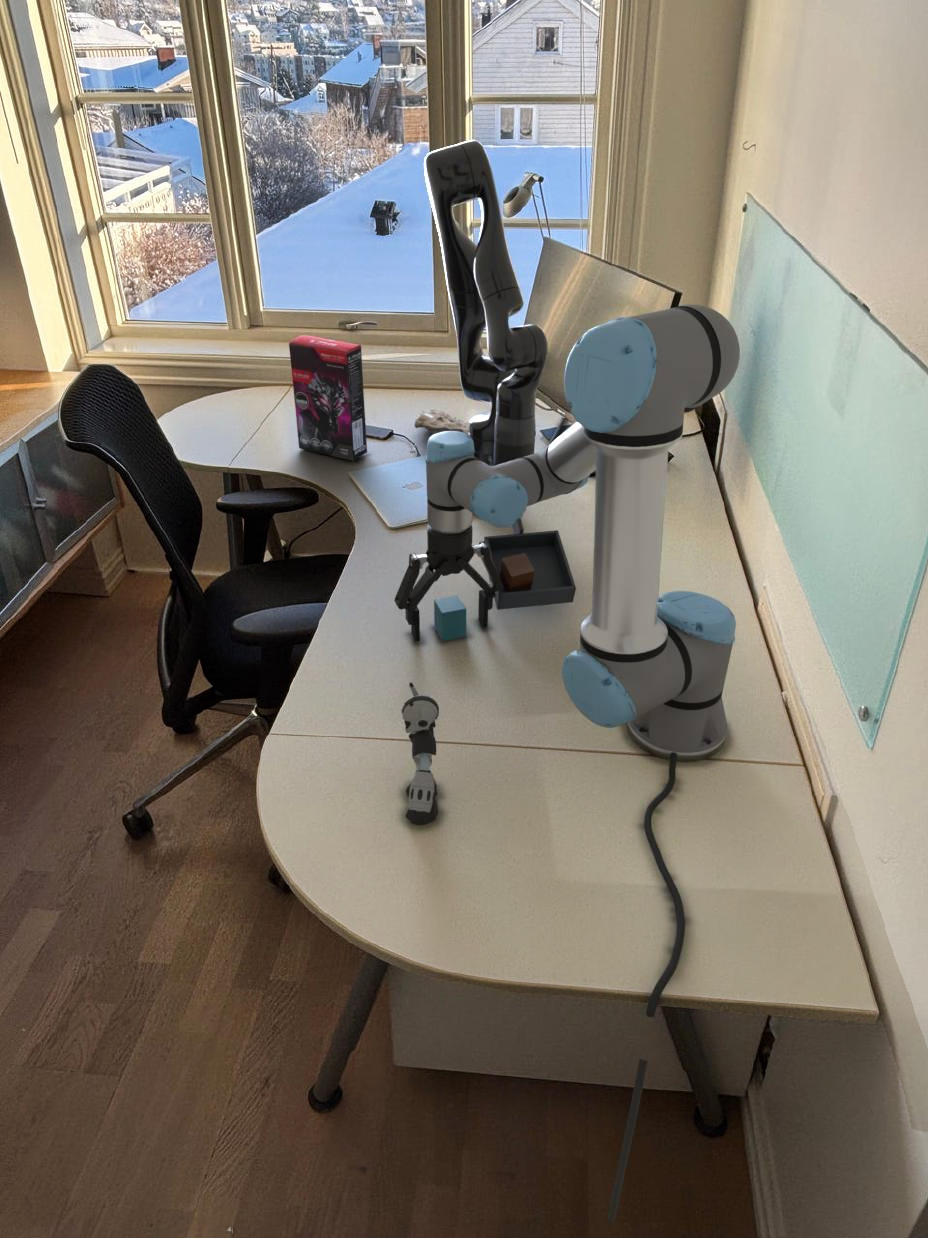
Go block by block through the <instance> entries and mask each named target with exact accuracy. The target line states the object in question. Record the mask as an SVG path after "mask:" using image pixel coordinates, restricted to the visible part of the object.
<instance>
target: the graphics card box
mask: <svg viewBox="0 0 928 1238" xmlns="http://www.w3.org/2000/svg"><path fill="white" fill-rule="evenodd" d="M288 348H289V349H288V350H289V358H290V367H291V377H292V389H293V399H294V409H295V418H296V419H295V420H296V428H297V429H296V431H297V437H298V438H297V441H298V448H299V449H301V450H305V451H309V452H313V453H318V454H323V455H327V456H331V457H335V458H339V459H344V460H347V461H351V462H354V461H356V460H358V459H359V458H360V457H362V456H364V455H365V454H367V453H368V445H367V444H368V443H367V426H366V410H365V393H364V377H363V376H364V375H363V356H362V345H361V343H360V344H359V343H351V342H346V341H341V340H335V339H334V340H333V339H329V338H325V337H324V338H323V337H318V336H313V335H308V334H301V335H299V336H297V337H295V338H293V339H292V340H291V341H289V342H288Z"/></svg>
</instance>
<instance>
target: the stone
mask: <svg viewBox="0 0 928 1238" xmlns="http://www.w3.org/2000/svg"><path fill="white" fill-rule="evenodd" d="M414 420H415V422H414V424H413V425H414V428H416V429H419V428H420V429H421V428H422V429H423V428H424V429H425V430H426V431H427V432H428V433H430V434H432V435H434V434H437V433H440V432H444V431H458V432H463V433H466V434H468V435H469V421H464V420H460V419H458V418H457V417H452V416H451V415H450V414H449V413H446V412H445V411H442V410H437V409H429V410H422V411H421V412H420V413H419V415H416V417H415V418H414Z"/></svg>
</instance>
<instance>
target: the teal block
mask: <svg viewBox="0 0 928 1238" xmlns="http://www.w3.org/2000/svg"><path fill="white" fill-rule="evenodd" d="M433 601H434V602H433V619H434V621H433V622H434V623H433V624H434V625H433V626H434V630H435V631H436V633H437V635H438V636H439V638H440V640H441V641H442V642H445V641H451V640H456V639H461V638H466V637H467V607H466V606H465V604H464V603H463V601H462V599H461V598H460V596H459V595H454V596H448V597H443V598H438V599H434V600H433Z"/></svg>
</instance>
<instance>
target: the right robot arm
mask: <svg viewBox="0 0 928 1238" xmlns="http://www.w3.org/2000/svg"><path fill="white" fill-rule="evenodd" d="M740 359H741V348H740V343H739V338H738V335H737V332H736V330H735V328H734V326H733V325H732V324H731V322H730V321H729V320H728V319H727V318H726V317H725V316H724V315H723V314H722V313H721V312H718V311H717V310H715V309H714V308H712V307H708V306H705V305H700V304H682V305H677V306H672V307H671V308H665V309H661V310H655V311H652V312H646V313H643V314H642V313H641V314H637V315H630V316H627V317H624V316H619V317H617V318H614V319H612V320H609V321H607V322H606V323H602V324H599V325H595V326H594V327H591V328H590V329H588V330H586V331H585V332H584V333H583V334H582V335H581V337H580V338H578V340H577V341H576V342H575V343H574V345H573V347H572V348H571V350H570V352H569V354H568V357H567V360H566V364H565V367H564V368H565V369H564V374H563V375H564V376H563V377H564V379H563V387H564V396H565V400H566V403H567V404H568V405H570V406H571V405H572V408H571V411H570V413H571V415H572V417H573V418H574V419H575V422H574V423H573V424H572V425H570V426H569V427H568V428H567V429H566V430H565V431H563V432H562V433H561V434H560V435H558V436H557V437H556V439H555V440H554V441H553V442H552V443H550V444H549V443H548V444H549V445H548V444H547V445H548V446H547V445H546V446H547V447H546V446H545V447H544V448H543V449H541V450H540V451H538V452H534V454H532V455H528V456H525V457H522V458H519V459H516V460H512V461H509V462H505V463H502V464H499V465H496V466H489V465H487V464H486V463H484V462H482V461H480V460H479V459H477V458H475V457H474V452H475V449H474V442H473V440H472V438H471V437H470V436H469V435H468V434H466V433H463V432H458V431H444V432H440V433H437V434H432V435H431V436H430V437H429V438H428V440H427V442H426V458H425V460H424V461H425V471H426V472H425V473H426V474H425V476H426V498H427V499H426V513H427V515H426V516H427V517H426V519H427V521H426V522H427V527H426V528H427V531H426V532H427V535H426V536H427V537H426V539H427V548H426V549H427V550H426V552H425V554H416V553H415V552H411V553H409V555H408V565H407V567H406V570H405V573H404V575H403V578H402V581H401V582H400V585H399V587H398V589H397V591H396V594H395V597H394V603H395V604H396V607H397V609H399V610H400V611H402V610H405V620H406V622H407V624H408V625H409V626H410V632H411V636H412V638H413V640H414V641H415V642H417V643H418V642H421V628H420V627H421V624H420V623H421V622H420V621H421V620H420V609H419V607H418V605H419V604H420V602H421V601H422V600H423V599H424V598H425V595H426V594H428V591H429V590H430V589H431V587H432V586H433V584H434V583H435V582H438V580H439V579H440V578H441V576H442V577H447V576H450V575H459V574H461V572H463V571H464V572H465V573H466V574H467V575H468V576H469V577H470V578H471V579H472V580H473V581H474V582H475V583H476V584H477V585H478V586H479V587H480V588H481V589H479V590H478V611H477V613H478V616H477V618H478V619H477V622H479V624H480V626H481V627H482V629H488V625H489V624H488V623H489V621H488V619H489V611H490V610H492V609H493V607H494V597H495V596H496V594H495V592H496V591H502V590H503V589H504V586H503V584H502V582H501V580H500V578H499V576H498V574H497V572H496V569H495V567H494V565H493V563H492V561H491V559H490V549H489V547H488V546H487V545H486V543H485V542H484V540H481V541H479V542H478V544H476V545H473V521H474V516H476V518H478V519H479V520H481V521H483V522H485V523H488V524H490V525H492V526H493V527H495V528H500V529H501V528H502V529H505V528H508V527H512V525H513V524H515V521H516V520H518V519H520V518H521V519H522V517H523V516H524V514H525V512H526V510H527V507H530V506H532V505H535V504H537V503H540V502H544V501H546V500H549V499H554V498H556V497H559V496H562V495H568V494H571V493H573V492H575V491H577V490H579V489H581V488H583V487H584V486H585V485H586V484H587V483H589V482H588V481H589V478H590V476H591V474H592V473H594V472H595V487H594V489H595V491H594V496H595V497H594V523H593V524H594V525H593V527H594V530H593V566H592V567H593V568H592V571H593V572H592V599H591V601H592V603H591V604H592V605H591V614H590V615H588V616H587V617H585V619H584V620H583V621H582V622H581V625H580V627H579V631H580V632H579V648H578V649H577V650H573V651H571V652H570V653H569V654H568V655H567V656H566V657H565V658H564V659H563V660H562V664H561V677H562V682H563V685H564V688H565V691H566V693H567V695H568V697H569V698H570V700H571V701H572V703H573V705H574V707H576V709H577V710H578V711H579V713H581V714H582V716H584V717H585V718H586V719H587V720H588V721H590V722H591V723H593V724H595V725H596V726H599V727H602V728H606V729H611V728H616V727H620V726H621V725H624V724H625V728H626V732H627V734H628V736H629V738H630V739H631V741H632V742H634V744H636V745H637V746H638V747H639V748H640V749H641V750H643V751H645V752H646V753H648V754H650V755H651V756H654V757H656V758H659V759H662V760H666V761H669V765H668V779H667V782H666V784H665V787H663V789H662V791H661V792H659V793H658V794H657V795H656V796H655V798H653V800H651V802H649V804H648V806H647V808H646V810H645V813H644V817H643V818H644V820H643V828H644V832H645V836H646V840H647V842H648V845H649V848H650V850H651V852H652V855H653V858H654V860H655V863H656V865H657V868H658V870H659V873H660V875H661V876H662V878H663V881H664V882H665V884H666V886H667V888H668V890H669V892H670V894H671V895H670V896H671V898H672V900H673V903H674V904H673V905H674V909H675V918H676V933H675V941H674V946H673V949H672V953H671V955H670V959H669V961H668V964H667V966H666V967H665V970H664V971H663V973H662V974H661V976H659V979H658V980H657V982H656V984H655V985H654V987H653V990H652V992H651V994H650V997H649V1000H648V1002H647V1006H646V1009H645V1014H646V1016H647V1017H648V1018H653V1017H654V1016H655V1014H656V1011H657V1007H658V1004H659V1001H660V999H661V996H662V994H663V992H664V990H665V988H666V986H667V985H668V983H669V981H670V980H671V979H672V977H673V975H674V973H675V972H676V970H677V968H678V965H679V961H680V959H681V953H682V950H683V946H684V939H685V934H686V919H685V917H686V916H685V910H684V905H683V900H682V897H681V894H680V891H679V889H678V887H677V885H676V882H675V881H674V879H673V878H672V875H671V874H670V872H669V870H668V868H667V866H666V863H665V860H664V858H663V855H662V853H661V850H660V847H659V845H658V842H657V839H656V838H655V835H654V832H653V827H652V817H653V814H654V812H655V810H656V809H657V807H659V805H660V804H661V803H662V802H663V801H664V800H665V799H666V798H667V797H668V796H669V795H670V793H671V792H672V791H673V789H674V786H675V783H676V776H677V772H676V771H677V763H694V762H700V761H703V760H706V759H709V758H711V757H714V755H716V754H718V752H720V751H721V750H722V748H723V747H724V744H725V743H726V740H727V739H726V738H727V734H728V721H727V716H726V712H725V708H724V707H725V706H724V701H723V692H724V686H725V682H726V678H727V674H728V668H729V664H730V659H731V654H732V651H733V650H732V649H733V645H734V643H735V641H736V627H737V621H736V617H735V615H734V613H733V611H732V610H731V609H730V608H729V607H728V606H727V605H726V604H725V603H723V602H722V601H720V600H719V599H717V598H714V597H712V596H709V595H707V594H703V593H699V592H694V591H689V590H673V591H667V592H665V593H663V594H661V595H660V582H661V581H660V580H661V567H662V552H663V550H662V549H663V537H664V535H663V534H664V521H665V509H666V508H665V505H666V491H667V476H668V463H669V462H668V461H669V450H670V448H671V447H673V446H674V445H675V444H676V443H678V442H679V441H681V439H682V437H683V431H684V423H685V422H684V419H685V414H688V413H691V412H693V411H695V410H696V409H697V408H699V407H701V406H702V405H704V404H706V403H707V402H708V401H709V400H711V399H714V398H715V397H716V396H718V395H719V394H721V393H722V392H723V391H724V390H725V389H726V388H727V387H728V386H729V385H730V384H731V382H732V380H733V379H734V378H735V375H736V373H737V370H738V368H739V364H740ZM473 515H474V516H473ZM474 555H476V556H477V557H478V558H480V560H481V561H482V564H483V566H484V568H485V570H486V573H487V574H489V575H488V577H489V576H490V578H491V581H492V583H490V582H489V583H488V582H487V581H486V580H485V578H484V577H483V576H482V575H481V574H480V573H479V572H478V570H476V569H475V568H474V567H473V566H472V565H471V564H470V562H471V560H472V558H473V557H474ZM426 563H427V566H426V567H425V569H424V572H423V573H422V575H421V577H419V576H420V571H421V569H423V567H424V564H426ZM418 577H419V579H418ZM417 580H418V581H417ZM647 1067H648V1060H645V1059H641V1058H639V1059H638V1064H637V1069H636V1075H635V1080H634V1085H633V1091H632V1097H631V1101H630V1105H629V1112H628V1117H627V1121H626V1127H625V1130H624V1136H623V1142H622V1145H621V1150H620V1156H619V1161H618V1166H617V1170H616V1175H615V1180H614V1185H613V1189H612V1194H611V1200H610V1205H609V1210H608V1213H607V1214H608V1216H607V1219H608V1220H609V1221H610V1222H614V1221H615V1220H616V1217H617V1211H618V1206H619V1201H620V1196H621V1193H622V1188H623V1184H624V1179H625V1173H626V1168H627V1164H628V1159H629V1155H630V1150H631V1145H632V1142H633V1136H634V1132H635V1127H636V1122H637V1117H638V1112H639V1107H640V1104H641V1098H642V1093H643V1090H644V1089H643V1088H644V1083H645V1079H646V1072H647Z"/></svg>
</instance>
